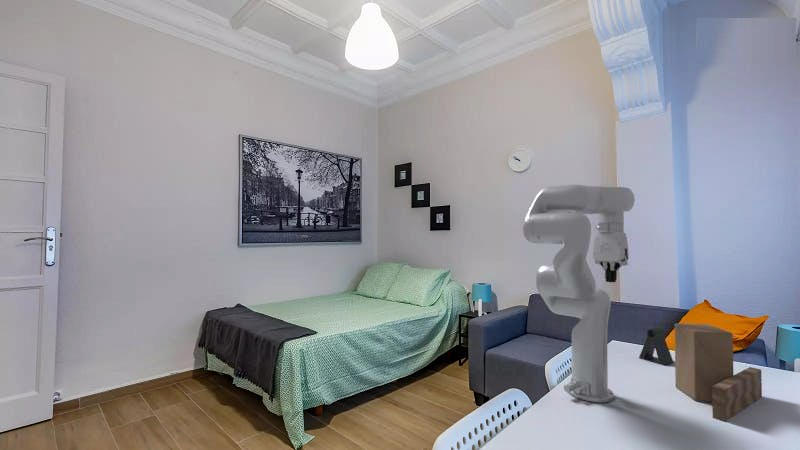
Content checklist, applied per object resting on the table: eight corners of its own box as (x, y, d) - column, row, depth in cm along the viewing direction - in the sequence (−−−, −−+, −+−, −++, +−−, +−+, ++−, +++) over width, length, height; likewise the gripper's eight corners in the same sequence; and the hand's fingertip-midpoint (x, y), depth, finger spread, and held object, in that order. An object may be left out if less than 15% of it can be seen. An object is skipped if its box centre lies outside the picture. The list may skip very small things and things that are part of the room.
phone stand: (639, 358, 140) (638, 327, 141) (647, 356, 143) (647, 325, 143) (664, 365, 132) (664, 332, 133) (673, 363, 135) (673, 330, 135)
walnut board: (724, 421, 92) (724, 389, 92) (712, 417, 94) (712, 386, 95) (761, 397, 107) (761, 369, 107) (750, 393, 109) (749, 367, 109)
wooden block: (735, 404, 102) (733, 332, 102) (695, 401, 104) (694, 331, 104) (710, 389, 112) (709, 324, 112) (674, 387, 113) (673, 322, 114)
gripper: (584, 228, 130) (583, 280, 129) (627, 227, 117) (627, 284, 116) (596, 229, 134) (596, 279, 133) (639, 228, 121) (640, 284, 120)
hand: (610, 281), depth 124 cm, fingers closed
